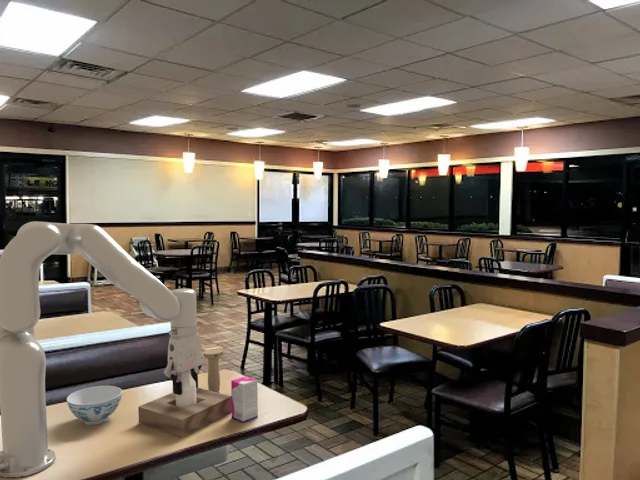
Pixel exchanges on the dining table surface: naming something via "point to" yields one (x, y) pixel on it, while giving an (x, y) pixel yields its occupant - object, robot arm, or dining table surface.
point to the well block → (184, 412)
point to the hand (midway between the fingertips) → (185, 390)
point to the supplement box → (244, 399)
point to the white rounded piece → (187, 391)
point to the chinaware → (94, 403)
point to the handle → (213, 369)
